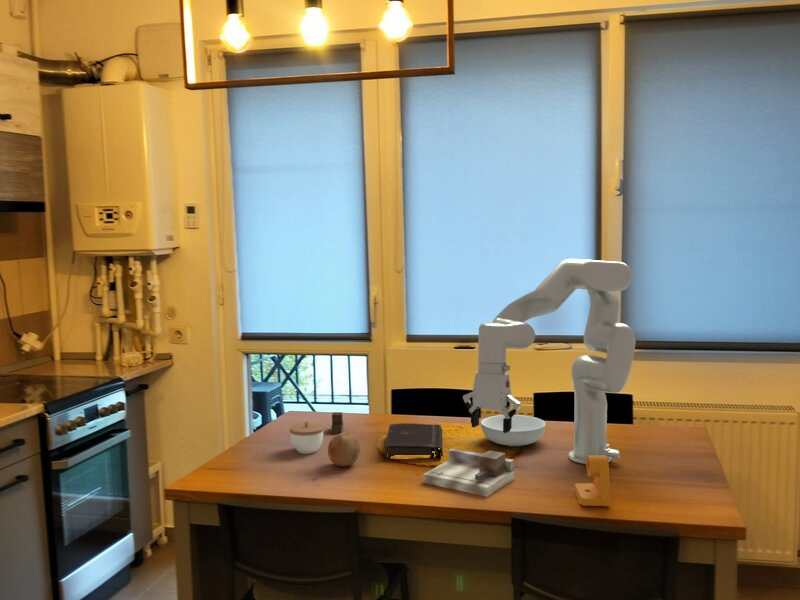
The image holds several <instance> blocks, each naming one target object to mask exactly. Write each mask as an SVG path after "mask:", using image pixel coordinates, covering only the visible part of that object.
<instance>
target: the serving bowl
mask: <svg viewBox="0 0 800 600" xmlns="http://www.w3.org/2000/svg"><path fill="white" fill-rule="evenodd" d="M504 418H505V416H504V415H503V414H498V415H493V416H488V417H485V418H483V419H481V420H480V426H481V430H482V433H483V434H484V437H486V438H487V439H488V440H490V441H491V442H493V443H496V444H498V445H503V446H505V445H509V446H508V447H523V446H526V445H530V444H534V443H536V442H537V441H539V440H540V439H541V438H542V436H543V435H544V433H545V430H546V421H544V420H543V419H541V418H538V417H534V416H530V415H521V414H515V415H514V416H513V417H512V427H511V429H510V431H509V432H507V433H504V432H503V419H504Z"/></svg>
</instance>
